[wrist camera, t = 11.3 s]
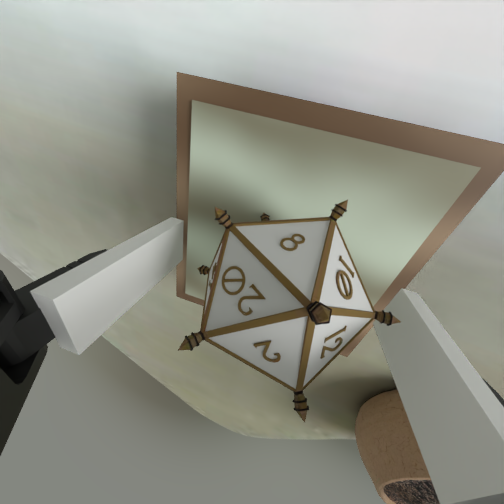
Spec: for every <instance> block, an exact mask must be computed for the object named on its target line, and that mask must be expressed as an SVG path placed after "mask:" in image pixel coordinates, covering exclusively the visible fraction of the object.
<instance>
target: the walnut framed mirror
mask: <svg viewBox="0 0 504 504" xmlns="http://www.w3.org/2000/svg"><path fill="white" fill-rule="evenodd" d="M503 171H504V144H501V143H497V142H492V141H488V140H483V139H479V138H474V137H470V136H465V135H461V134H456V133H452V132H447V131H442V130H438V129H433V128H429V127H424V126H420V125H415V124H411V123H406V122H402V121H397V120H393V119H388V118H384V117H379V116H374V115H370V114H365V113H361V112H356V111H352V110H347V109H343V108H338V107H334V106H329V105H325V104H320V103H316V102H311V101H307V100H302V99H297V98H293V97H288V96H284V95H279V94H275V93H270V92H266V91H261V90H257V89H252V88H248V87H243V86H239V85H234V84H230V83H225V82H220V81H216V80H211V79H207V78H202V77H198V76H193V75H189V74H184V73H180V72H177V219H180V220H183V221H184V224H183V260H182V261H181V262H180V263H179V264H178V265H177V297H180V298H183V299H185V300H188V301H191V302H194V303H197V304H199V305H202V306H204V300H205V293H206V285H207V278H208V274H206V275H203V274H200V272H199V270H198V269H197V268H199V267H201V266H202V265H204V266H207V267H208V268H210V266H211V264H212V261H213V259H214V256H215V254H216V251H217V249H218V246H219V244H220V242H221V239H222V237H223V234H224V232H225V227H224V226H223V225H219V222H218V221H217V220H215V218H216V216H215V207H217V208H219V209H222V210H224V211H225V210H226V211H227V214H228V215H230V220H231V222H232V223H240V222H256V221H261V217H260V216H262V214H263V213H265V214H267V215H269V216H270V217H269V219H270V220H269V221H271V220H287V219H303V218H318V217H329V216H330V215H331V213H332V209H334V207H335V204H339V203H341V202H343V201H346V200H348V203H347V209H346V210H347V212H344V214H343V216H342V217H340V218H338V219H337V221H336V222H337V224H338V227H339V229H340V231H341V234H342V236H343V238H344V241H345V243H346V245H347V248H348V250H349V252H350V255H351V257H352V259H353V261H354V264H355V266H356V268H357V271H358V273H359V275H360V278H361V280H362V282H363V285H364V287H365V289H366V292H367V294H368V296H369V298H370V301H371V303H372V305H373V308H374V310H375V311H382V310H384V309H385V308H386V306H387V305H388V304H389V303H390V302H391V300H392V299H393V298H394V297H395V295H396V294H397V293H398V292H399V291H400V289H401V288H403V289H405V288H406V286H407V285H408V284H409V283H410V282H411V280H412V279H413V278H414V277H415V276H416V274H417V273H418V272H419V271H420V270H421V269H422V267H423V266H424V265H425V264H426V263H427V261H428V260H429V259H430V258H431V257H432V255H433V254H434V253H435V252H436V251H437V249H438V248H439V247H440V246H441V245H442V244H443V242H444V241H445V240H446V239H447V238H448V236H449V235H450V234H451V233H452V232H453V230H454V229H455V228H456V227H457V226H458V225H459V223H460V222H461V221H462V220H463V219H464V217H465V216H466V215H467V214H468V213H469V211H470V210H471V209H472V208H473V207H474V205H475V204H476V203H477V202H478V201H479V200H480V198H481V197H482V196H483V195H484V194H485V192H486V191H487V190H488V189H489V188H490V186H491V185H492V184H493V183H494V182H495V180H496V179H497V178H498V177H499V176H500V175H501V173H502V172H503ZM375 320H376V319H374V320H373V321H372V322H371V323H370V324H369V325H368V326H367V327H366V328H365V329H364V330H363V331H362V332H361V333H360V334H359V335H358V336H357V337H356V338H355V339H354V340H353V341H352V342H351V343H350V344H349V345H348V346H347V347H346V348H345V349H344V350H343V351H342V352H341V353H340V355H343V356H346V357H348V355H349V354H350V353H351V352H352V351H353V349H354V348H355V347H356V346H357V345H358V343H359V342H360V341H361V340H362V339H363V337H364V336H365V335H366V334H367V333H368V332H369V330H370V329H371V328H372V327H373V326H374V325H373V322H374V321H375Z"/></svg>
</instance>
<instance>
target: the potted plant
mask: <svg viewBox="0 0 504 504" xmlns="http://www.w3.org/2000/svg"><path fill="white" fill-rule="evenodd" d="M355 435H356V441H357V445H358V449H359V452H360V456H361V458H362V461H363V463H364V465H365V467H366V469H367V471H368V473H369V475H370V477H371V479H372V481H373V483H374V485H375V488H376V490H377V492H378V494H379V496H380V497H381V498H382V499H383V501H384V502H385V503H387V504H440V502H439V499H438V497H437V494H436V491H435V489H434V486H433V483H432V480H431V478H430V475H429V472H428V470H427V467H426V464H425V462H424V459H423V456H422V454H421V451H420V448H419V446H418V443H417V440H416V438H415V435H414V432H413V430H412V427H411V424H410V422H409V419H408V416H407V414H406V411H405V408H404V406H403V403H402V400H401V397H400V395H399V392H398V389H397V390H392V391H387V392H383V393H381V394H378V395H376V396H374V397H372V398H371V399H369V400H368V401H367V402H365V403H364V404H363V405H362V406H361V408H360V410H359V413H358V415H357V419H356V424H355Z"/></svg>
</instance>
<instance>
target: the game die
mask: <svg viewBox="0 0 504 504" xmlns="http://www.w3.org/2000/svg"><path fill="white" fill-rule="evenodd" d="M347 203H348V200H346V201H343V202H341V203H339V204H335V207H334V209H332V213H331V215H330V216H329V217H318V218H303V219H287V220H271V221H269V220H270V219H269V217H270V216H269V215H267V214H265V213H263V214H262V216H260V217H261V221H256V222H240V223H232V222H231V220H230V215H228V214H227V211H226V210H225V211H224V210H222V209H219V208H217V207H215V216H216V218H215V220H217V221H218V222H219V225H223V226H224V227H225V232H224V234H223V237H222V239H221V242H220V244H219V246H218V249H217V251H216V254H215V256H214V259H213V261H212V264H211V266H210V268H208V267H207V266H204V265H202V266H201V267H199V268H197V269H198V270H199V272H200V274H203V275H206V274H208V278H207V285H206V293H205V300H204V308H203V315H202V322H201V330H200V331H199V332H198V333H193V332H192V333H191V335H190V336H188V337H187V336H185V339H184V341H183V343H182V344H181V346H180V348H179V349H178V350H191V351H192V350H193V348H194V347H195V346H199V343H200V342H201V341H202V340H205V341H207V342H209V343H210V344H212V345H214V346H216V347H217V348H219V349H221V350H223V351H224V352H226V353H228V354H230V355H231V356H233V357H235V358H236V359H238V360H240V361H242V362H243V363H245V364H247V365H249V366H250V367H252V368H254V369H256V370H257V371H259V372H261V373H262V374H264V375H266V376H268V377H269V378H271V379H273V380H275V381H276V382H278V383H280V384H282V385H283V386H285V387H287V388H289V389H290V390H292V391H294V394H295V395H294V400H293V402H294V403H295V408H294V410H296V411H297V413H298V414H299V415H300V417H301V418H302V420H303V421H304V422H305V419H306V414H307V410H309V406H307V403H306V402H307V399H306V398H305V397H304V394H303V390H304V389H305V388H306V387H307V386H308V385H309V384H310V383H311V382H312V381H313V380H314V379H315V378H316V377H317V376H318V375H319V374H320V373H321V372H322V371H323V370H324V369H325V368H326V367H327V366H328V365H329V364H330V363H331V362H332V361H333V360H334V359H335V358H336V357H337V356H338V355H339V354H340V353H341V352H342V351H343V350H344V349H345V348H346V347H347V346H348V345H349V344H350V343H351V342H352V341H353V340H354V339H355V338H356V337H357V336H358V335H359V334H360V333H361V332H362V331H363V330H364V329H365V328H366V327H367V326H368V325H369V324H370V323H371V322H372V321H373V320H374V319H376V320H377V321H379V322H380V323H381V324H382V323H384V324H387V326H389V325H391V324H395V323H400V322H401V321H399V320H398V319H397V318H396V317H395V316H393V315H392V313H391V312H389V313H388V312H384V310H382V311H375V310H374V308H373V305H372V303H371V301H370V298H369V296H368V294H367V292H366V289H365V287H364V285H363V282H362V280H361V278H360V275H359V273H358V271H357V268H356V266H355V264H354V261H353V259H352V257H351V255H350V252H349V250H348V248H347V245H346V243H345V241H344V238H343V236H342V234H341V231H340V229H339V227H338V224H337V222H336V221H337V219H338V218H340V217H342V216H343V214H344V212H347V210H346V209H347Z"/></svg>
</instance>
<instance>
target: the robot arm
mask: <svg viewBox="0 0 504 504" xmlns="http://www.w3.org/2000/svg"><path fill="white" fill-rule="evenodd" d="M183 224H184V221H183V220H180V219H177V218H173V217H170V218H168V219H166V220H165V221H163V222H161V223H159V224H157V225H155V226H153V227H151V228H149V229H147V230H146V231H144V232H142V233H140V234H138V235H136V236H134V237H132V238H130V239H128V240H127V241H125V242H123V243H121V244H119V245H117V246H115V247H113V248H111V249H109V250H106V249H105V250H101V251H97V252H94V253H90V254H88V255H86V256H84V257H82V258H80V259H78V261H77V262H76V261H74V262H72V263H70V264H68V265H67V266H66V267H62V268H60V269H58V270H56V271H54V272H52V273H50V274H48V275H46V276H44V277H42V278H40V279H38V280H36V281H34V282H32V283H30V284H28V285H26V286H24V287H22V288H20V289H18V290H15V291H14V290H13V288H12V286H11V285H10V283H9V281H8V280H7V278H6V277H5V275H4V273H3V272H2V271H1V270H0V455H1V453H2V451H3V449H4V447H5V444H6V442H7V440H8V438H9V435H10V433H11V431H12V428H13V427H14V424H15V422H16V420H17V418H18V416H19V413H20V411H21V409H22V407H23V404H24V402H25V400H26V398H27V396H28V393H29V391H30V389H31V387H32V384H33V382H34V380H35V378H36V376H37V373H38V371H39V369H40V367H41V364H42V362H43V360H44V358H45V356H46V353H47V348H48V346H47V345H46V344H47V343H49V342H50V341H51V340H52V339H54V338H56V340H57V342H58V344H59V346H60V347H61V348H63V349H65V350H68V351H70V352H72V353H75V354H77V355H80V354H81V353H82V352H83V351H84V350H85V349H86V348H87V347H88V346H89V345H91V344H92V343H93V342H94V341H95V340H96V339H97V338H98V337H99V336H100V335H102V334H103V333H104V332H105V331H106V330H107V329H108V328H109V327H110V326H111V325H112V324H113V323H115V322H116V321H117V320H118V319H119V318H120V317H121V316H122V315H123V314H124V313H125V312H127V311H128V310H129V309H130V308H131V307H132V306H133V305H134V304H135V303H136V302H137V301H139V300H140V299H141V298H142V297H143V296H144V295H145V294H146V293H147V292H148V291H149V290H150V289H152V288H153V287H154V286H155V285H156V284H157V283H158V282H159V281H160V280H161V279H162V278H164V277H165V276H166V275H167V274H168V273H169V272H170V271H171V270H172V269H173V268H174V267H175V266H177V265H178V264H179V263H180V262H181V261H182V260H183ZM384 312H388V313H389V312H391V313H392V315H393V316H395V317H396V318H397V319H398V320H399V321H401V322H400V323H395V324H391V325H389V326H387V324H384V323H382V324H381V323H380V322H379V321H377V320H375V321H374V322H373V325H374V328H375V331H376V333H377V336H378V339H379V341H380V344H381V347H382V349H383V352H384V355H385V357H386V360H387V363H388V365H389V368H390V371H391V373H392V376H393V379H394V381H395V384H396V387H397V389H398V392H399V395H400V397H401V400H402V403H403V406H404V408H405V411H406V414H407V416H408V419H409V422H410V424H411V427H412V430H413V432H414V435H415V438H416V440H417V443H418V446H419V448H420V451H421V454H422V456H423V459H424V462H425V464H426V467H427V470H428V472H429V475H430V478H431V480H432V483H433V486H434V489H435V491H436V494H437V497H438V499H439V502H440V504H504V400H503V399H502V397H501V396H500V395H499V394H498V393H497V392H496V391H495V390H494V389H493V388H492V387H491V386H490V385H489V384H488V383H487V382H486V381H485V380H484V379H483V378H482V377H481V376H480V375H479V374H478V373H477V371H476V370H475V369H474V367H473V366H472V365H471V363H470V362H469V361H468V359H467V358H466V357H465V355H464V354H463V353H462V351H461V350H460V349H459V347H458V346H457V345H456V343H455V342H454V341H453V339H452V338H451V337H450V335H449V334H448V333H447V331H446V330H445V329H444V327H443V326H442V325H441V323H440V322H439V321H438V319H437V318H436V317H435V316H434V314H433V313H432V312H431V310H430V309H429V308H428V306H427V305H426V304H425V302H424V301H423V300H422V298H421V297H420V296H419V294H418V293H416V292H413V291H410V290H406V289H403V288H401V289H400V291H399V292H398V293H397V294H396V295H395V297H394V298H393V299H392V300H391V302H390V303H389V304H388V305H387V306H386V308H385V309H384Z"/></svg>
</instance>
